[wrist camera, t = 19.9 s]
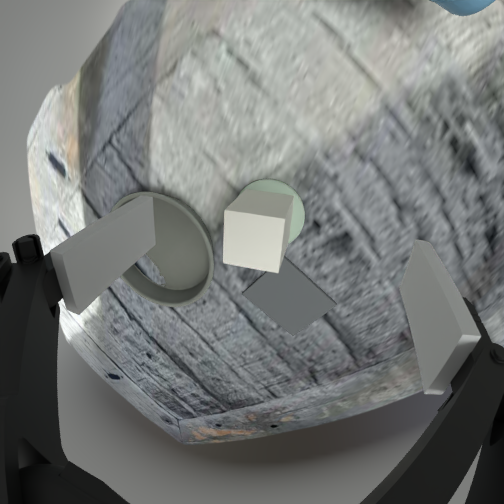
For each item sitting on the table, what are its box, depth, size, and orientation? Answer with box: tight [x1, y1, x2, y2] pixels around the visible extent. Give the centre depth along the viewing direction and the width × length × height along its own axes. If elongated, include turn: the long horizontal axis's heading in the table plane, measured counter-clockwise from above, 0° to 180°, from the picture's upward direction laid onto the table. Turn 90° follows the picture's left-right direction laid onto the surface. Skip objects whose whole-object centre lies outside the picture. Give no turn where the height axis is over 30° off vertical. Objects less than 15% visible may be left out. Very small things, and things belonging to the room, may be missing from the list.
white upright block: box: [223, 189, 295, 273], centre depth 45 cm, size 8×8×11 cm
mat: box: [242, 256, 337, 336], centre depth 57 cm, size 14×12×1 cm
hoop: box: [110, 192, 214, 307], centre depth 57 cm, size 25×25×4 cm
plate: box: [238, 179, 305, 244], centre depth 50 cm, size 12×12×1 cm
